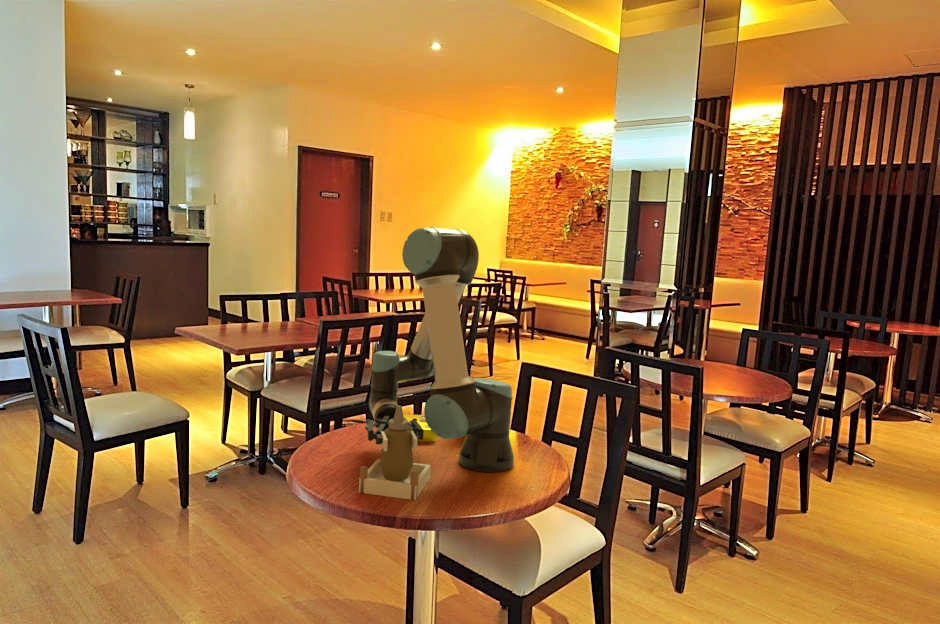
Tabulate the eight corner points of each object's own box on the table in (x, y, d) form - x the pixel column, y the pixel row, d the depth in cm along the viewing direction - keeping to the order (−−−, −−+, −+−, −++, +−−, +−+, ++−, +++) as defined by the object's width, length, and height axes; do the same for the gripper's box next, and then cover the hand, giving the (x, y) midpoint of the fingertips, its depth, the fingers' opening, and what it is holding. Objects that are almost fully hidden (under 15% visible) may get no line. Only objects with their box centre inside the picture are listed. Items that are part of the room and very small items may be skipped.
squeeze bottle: (389, 486, 153) (392, 412, 151) (373, 474, 159) (376, 404, 157) (418, 480, 158) (422, 408, 155) (401, 469, 164) (405, 400, 162)
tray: (430, 478, 164) (431, 455, 164) (416, 500, 151) (417, 475, 150) (377, 471, 167) (378, 449, 166) (358, 492, 153) (359, 468, 152)
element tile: (387, 426, 206) (388, 412, 205) (434, 427, 207) (435, 413, 207) (386, 442, 191) (386, 426, 190) (436, 443, 193) (437, 428, 192)
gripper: (422, 429, 178) (440, 459, 155) (351, 430, 172) (358, 461, 150) (423, 402, 177) (441, 429, 154) (352, 403, 172) (360, 430, 149)
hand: (400, 445), depth 152 cm, fingers closed on squeeze bottle, 6 cm apart
